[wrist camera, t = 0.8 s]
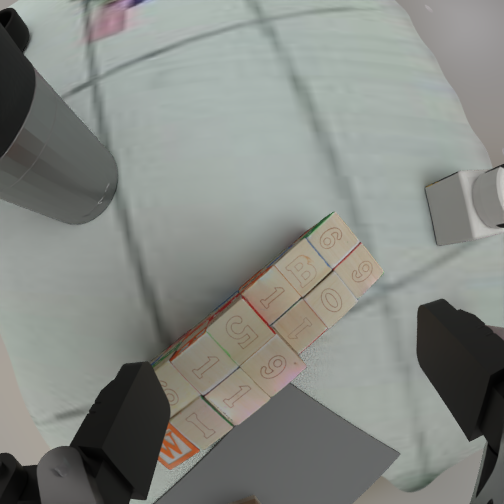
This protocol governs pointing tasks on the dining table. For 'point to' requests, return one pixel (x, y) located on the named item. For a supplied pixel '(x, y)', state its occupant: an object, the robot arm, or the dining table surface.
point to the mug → (14, 27)
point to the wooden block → (247, 500)
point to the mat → (286, 458)
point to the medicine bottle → (467, 205)
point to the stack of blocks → (259, 337)
